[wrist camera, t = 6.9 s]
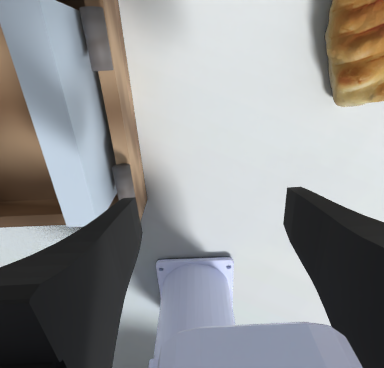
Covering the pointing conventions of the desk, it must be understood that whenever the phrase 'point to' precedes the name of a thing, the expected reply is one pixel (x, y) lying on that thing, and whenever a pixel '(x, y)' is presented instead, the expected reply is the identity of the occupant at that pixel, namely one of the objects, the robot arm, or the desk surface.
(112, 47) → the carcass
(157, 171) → the desk surface
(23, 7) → the door
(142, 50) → the desk surface
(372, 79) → the pastry
